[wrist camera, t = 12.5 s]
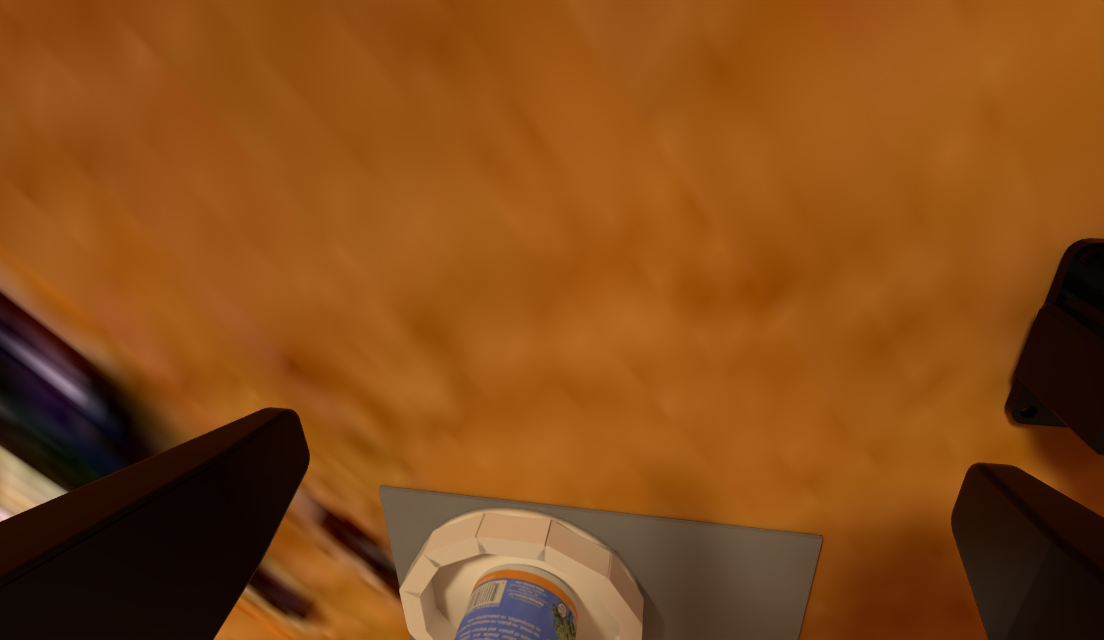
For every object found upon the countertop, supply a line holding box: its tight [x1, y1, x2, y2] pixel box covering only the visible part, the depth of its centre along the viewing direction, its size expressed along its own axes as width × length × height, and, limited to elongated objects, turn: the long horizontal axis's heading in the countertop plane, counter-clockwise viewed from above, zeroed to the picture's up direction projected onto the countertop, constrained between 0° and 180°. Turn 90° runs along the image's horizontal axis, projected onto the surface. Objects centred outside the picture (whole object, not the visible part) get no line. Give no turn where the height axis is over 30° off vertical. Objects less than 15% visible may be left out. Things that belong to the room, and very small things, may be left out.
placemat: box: [379, 486, 823, 640], centre depth 28 cm, size 20×12×1 cm, turn 92°
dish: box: [399, 507, 644, 640], centre depth 28 cm, size 12×12×2 cm
